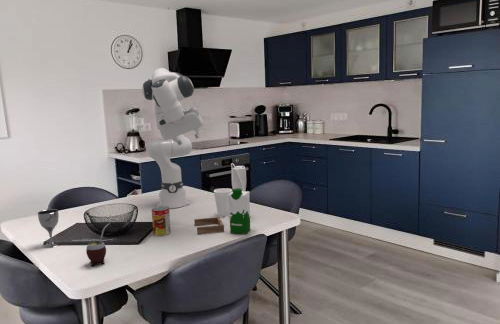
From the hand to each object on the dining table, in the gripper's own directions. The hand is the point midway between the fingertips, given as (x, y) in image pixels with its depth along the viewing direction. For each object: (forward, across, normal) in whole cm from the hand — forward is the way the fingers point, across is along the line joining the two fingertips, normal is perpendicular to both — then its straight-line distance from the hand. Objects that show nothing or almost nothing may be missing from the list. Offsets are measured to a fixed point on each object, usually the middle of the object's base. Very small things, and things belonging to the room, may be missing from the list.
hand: (189, 141), depth 194 cm
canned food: (+31, +25, +20) cm, 44 cm away
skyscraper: (+48, -4, -4) cm, 49 cm away
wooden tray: (+39, +7, +13) cm, 42 cm away
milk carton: (+44, -9, +17) cm, 48 cm away
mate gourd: (+17, +33, +54) cm, 66 cm away
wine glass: (+11, +64, +37) cm, 75 cm away
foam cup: (+47, +6, -9) cm, 48 cm away
